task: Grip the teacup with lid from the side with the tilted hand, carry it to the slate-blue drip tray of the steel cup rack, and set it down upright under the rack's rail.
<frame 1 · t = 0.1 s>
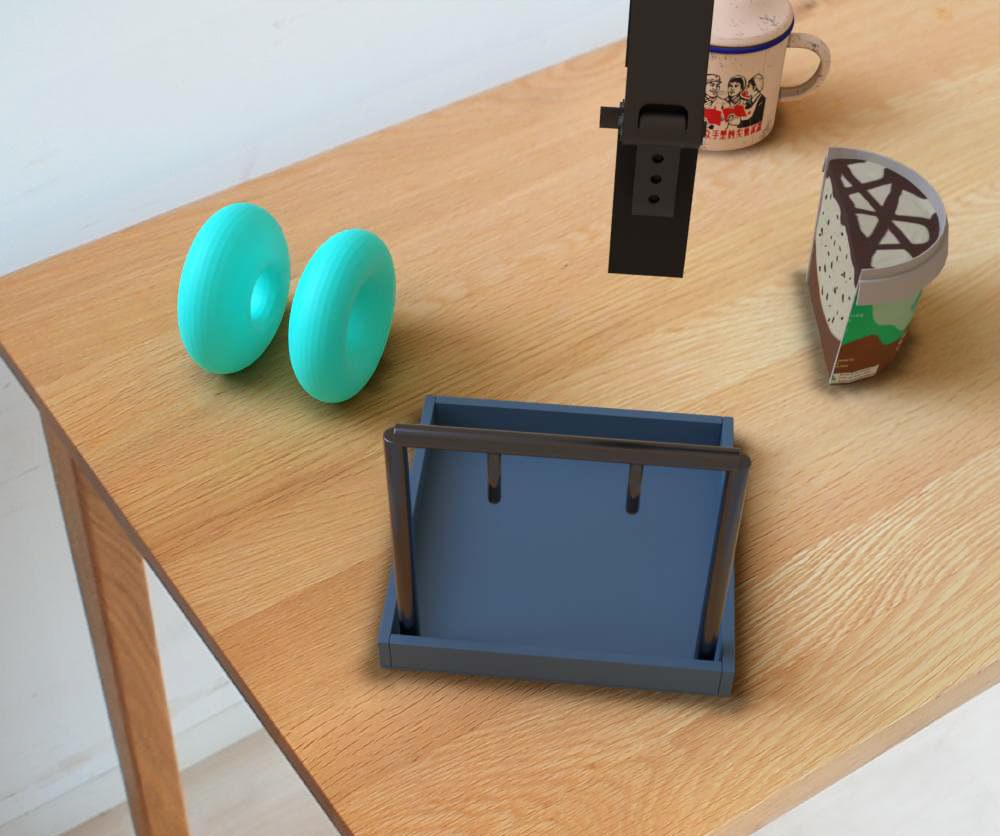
hand: (651, 159, 57), 26 cm above the table, tool pointing down, fingers open, 13 cm apart
teacup with lid: (732, 127, 103), on the table
donuts: (298, 369, 87), on the table
drip tray: (565, 555, 77), on the table
rack frame: (560, 564, 66), in the drip tray
food container: (865, 341, 88), on the table
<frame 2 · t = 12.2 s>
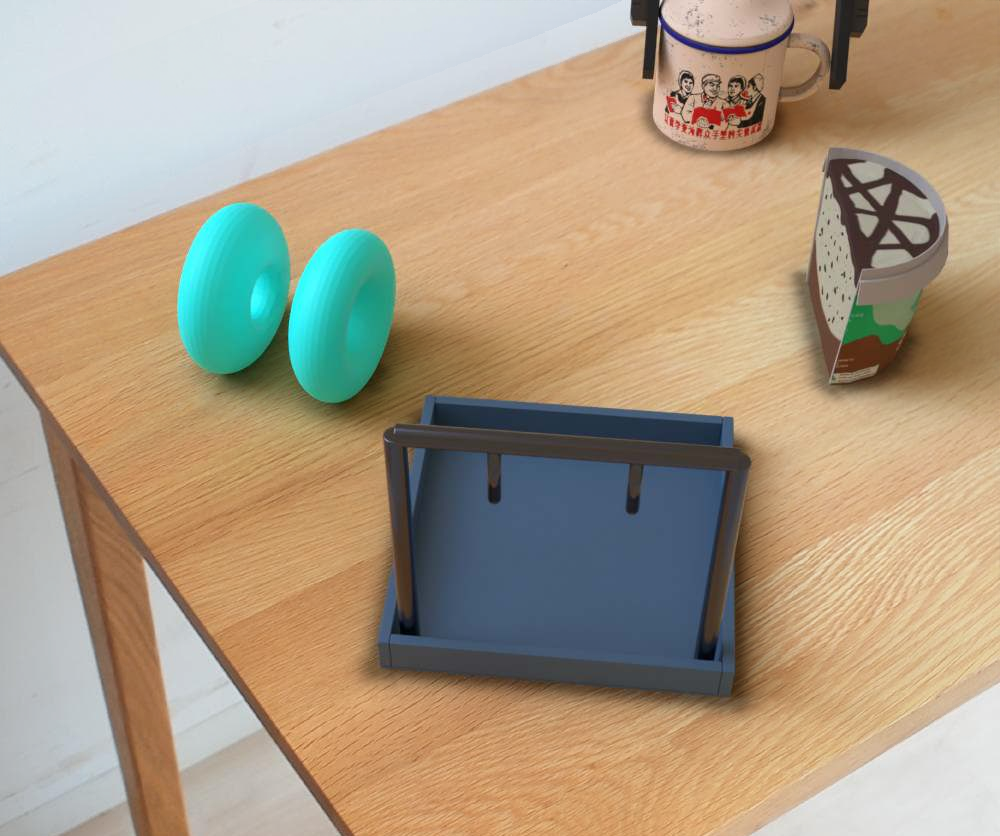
hand: (742, 80, 98), 5 cm above the table, tool tilted 45°, fingers closed on teacup with lid, 12 cm apart
teacup with lid: (732, 127, 103), on the table, touching gripper
everything else where it was.
when the fingers open (6 cm above the table, at t = 25.0 s): teacup with lid stays where it is, resting on drip tray.
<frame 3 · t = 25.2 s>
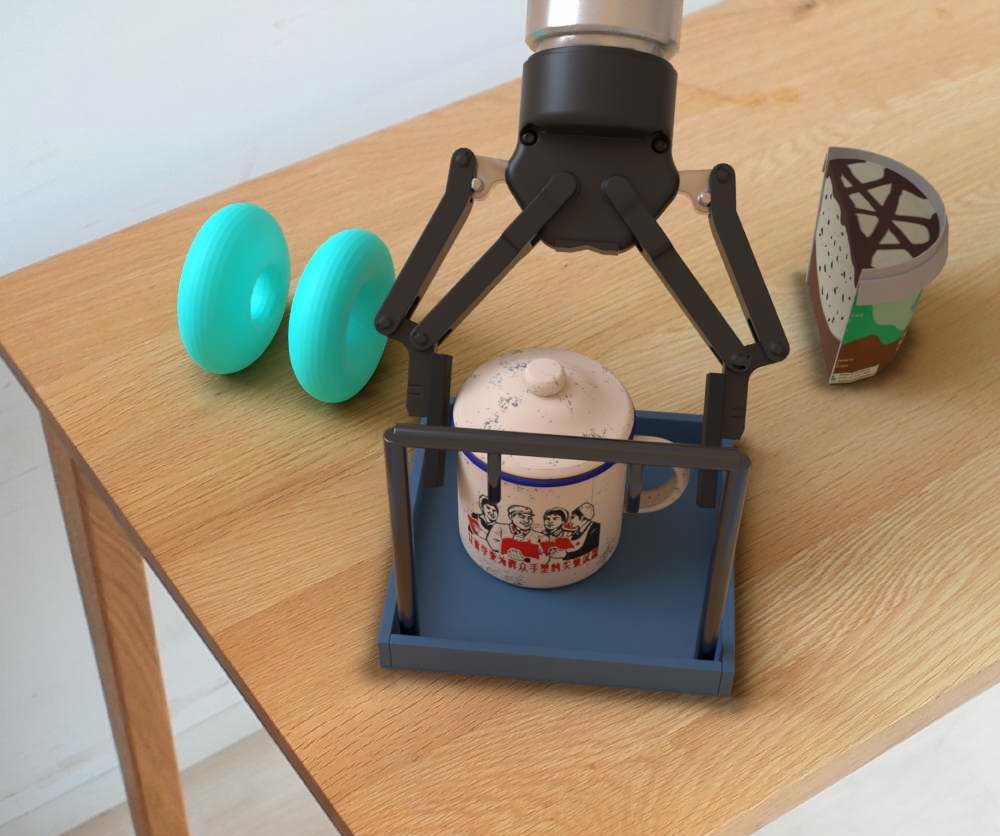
hand: (568, 497, 71), 6 cm above the table, tool tilted 45°, fingers open, 13 cm apart
teacup with lid: (566, 533, 77), point 1 cm above the table, touching drip tray
everything else where it was.
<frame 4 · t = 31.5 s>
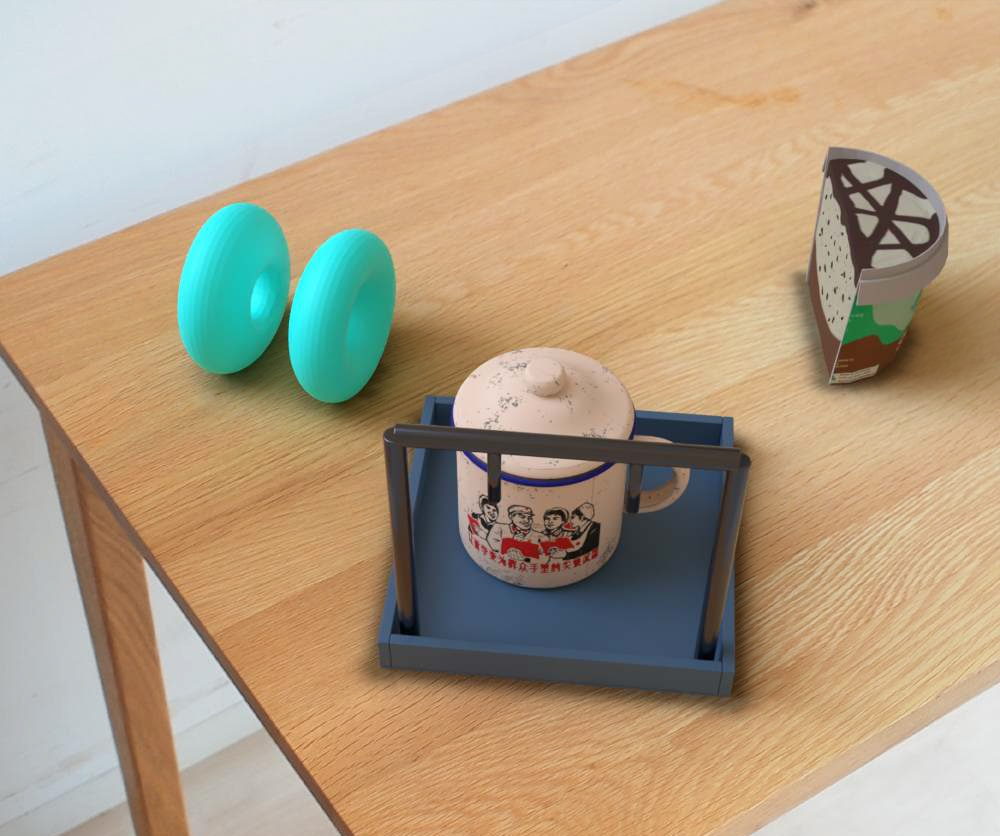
nothing on the table moved.
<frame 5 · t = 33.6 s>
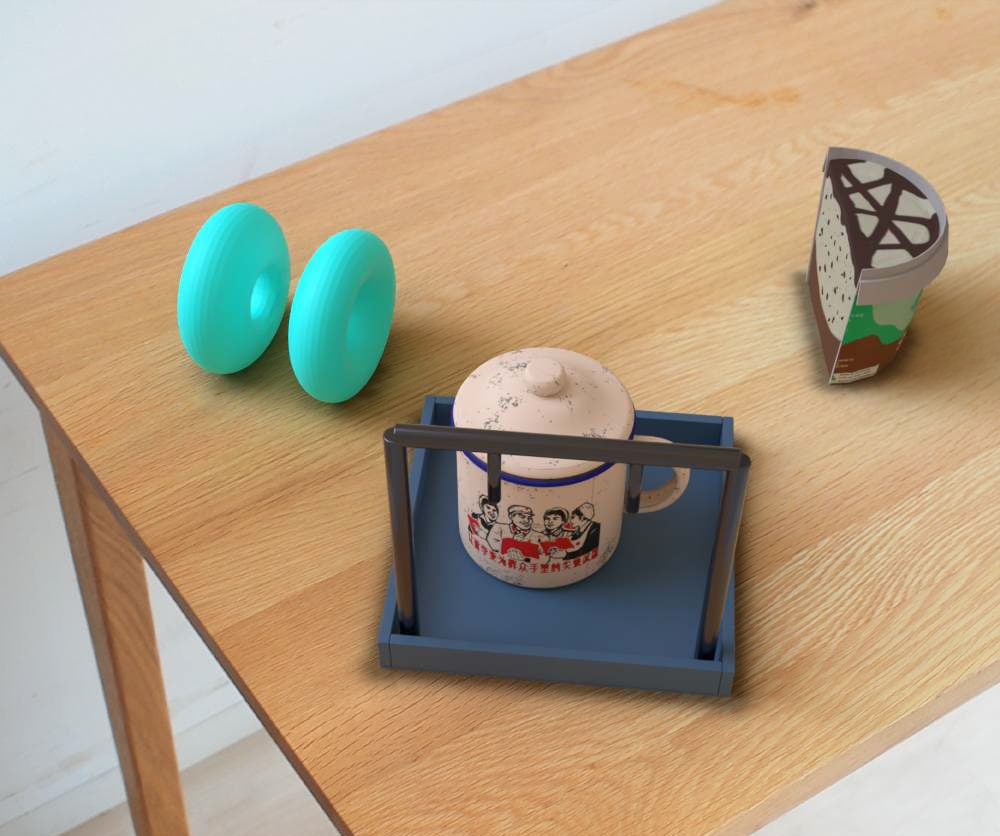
nothing on the table moved.
at the end: teacup with lid inside the target area in the drip tray (0.6 cm from its centre), point 0.6 cm above the drip tray's base; teacup with lid tilted 0°; the gripper is holding nothing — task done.
